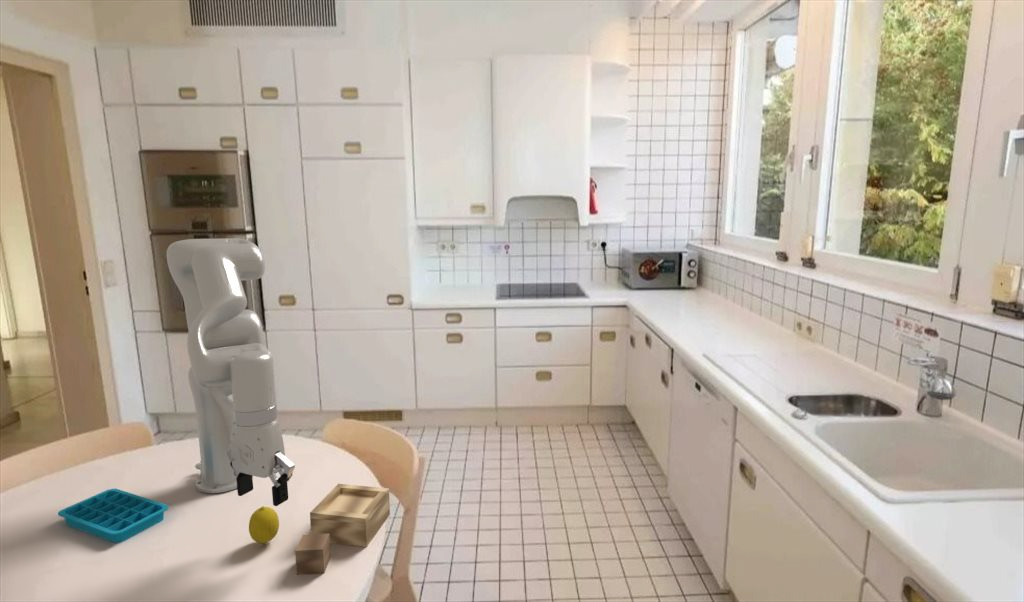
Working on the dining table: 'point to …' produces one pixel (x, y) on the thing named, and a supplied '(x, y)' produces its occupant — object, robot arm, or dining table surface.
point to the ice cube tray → (114, 515)
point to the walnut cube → (313, 554)
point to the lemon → (263, 525)
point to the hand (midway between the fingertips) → (263, 497)
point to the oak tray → (351, 514)
